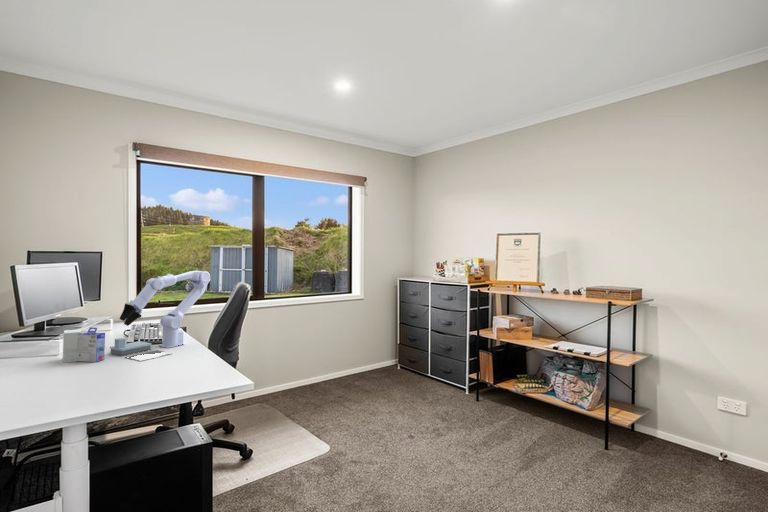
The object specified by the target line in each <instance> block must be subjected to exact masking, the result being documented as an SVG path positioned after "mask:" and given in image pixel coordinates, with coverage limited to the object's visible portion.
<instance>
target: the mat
mask: <svg viewBox="0 0 768 512" xmlns="http://www.w3.org/2000/svg"><path fill="white" fill-rule="evenodd" d="M161 352H165V351H164V350H157V349H156V350H149V351H145V352H140V353H135V354H131V355H126V356H124V357H125V358H124V359H127V357H129V358H131V357H134V356H137V355H142V354H143V355H144V354H155V353H161Z"/></svg>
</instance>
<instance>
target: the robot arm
mask: <svg viewBox="0 0 768 512" xmlns="http://www.w3.org/2000/svg"><path fill="white" fill-rule="evenodd" d="M185 280H191V283H192V285H193V289H192V290H191V291H190V292H189V293H188V295H186V297H185V298H184V299H183V300H182V301H181V302H180V303H179V304H178V305H177V307H175V308H174V309H173V310H171V311H169V312H168V313H166V314H165V315H163V316H162V317H161V318H160V320H159V321H160V322H159V324H160V325H161V327H162V339H161V341H162V342H161V343H162V344H158V347H161V348H167V349H169V348H174V347H178V345H179V346H183V345H182V344H184V345H185V343H184V329H183V328H182V327H181V324H182V322H183V320H184V315H186V313H187V312H188V311H189V310H190V309H191V308H192V306H194V304H195V303H196V302H197V301H198V300H199V298H201V296H203V294H205V292H206V290H207V288H208V284H209V283H210V281H211V274H210V273H209V271H206V270H196V269H195V270H190V271H187V272H184V273H180V274H177V275H174V274H171V273H167V274H166V275H162V276H159V275H158V276H157V277H155V278H154V277H152V278H149V279H147V280H146V282H145V286H144V287H142V290H141V291H140V292H139V293H138V294H137V296H136V297H135V298H134V300H130V301H128V303H124V308H123V310H122V312H121V314H120V316H119V320H121V321H122V322H124V323H123V325H125V326H126V327H128V326H130V325H131V324H132V323H134V321H136V320H138V319H141V318H142V314H143V309H144V308H145V307H146V306H147V304H148V303H149V302H150V300H152V298H153V297H154V296H155V294H156V293H157V291H161V290H163V289H164V288H167V287H170V286H171V287H172V286H174V285H176V283H177V282H181V281H185Z"/></svg>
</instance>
